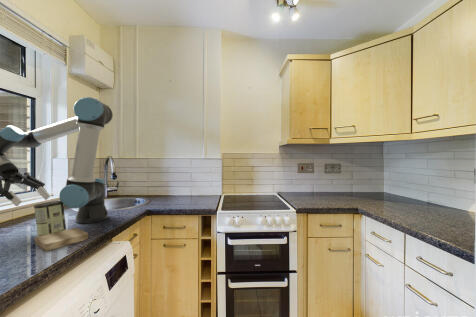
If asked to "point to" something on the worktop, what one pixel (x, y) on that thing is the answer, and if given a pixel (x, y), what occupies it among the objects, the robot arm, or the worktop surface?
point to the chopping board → (60, 238)
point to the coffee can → (49, 217)
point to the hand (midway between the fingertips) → (34, 200)
